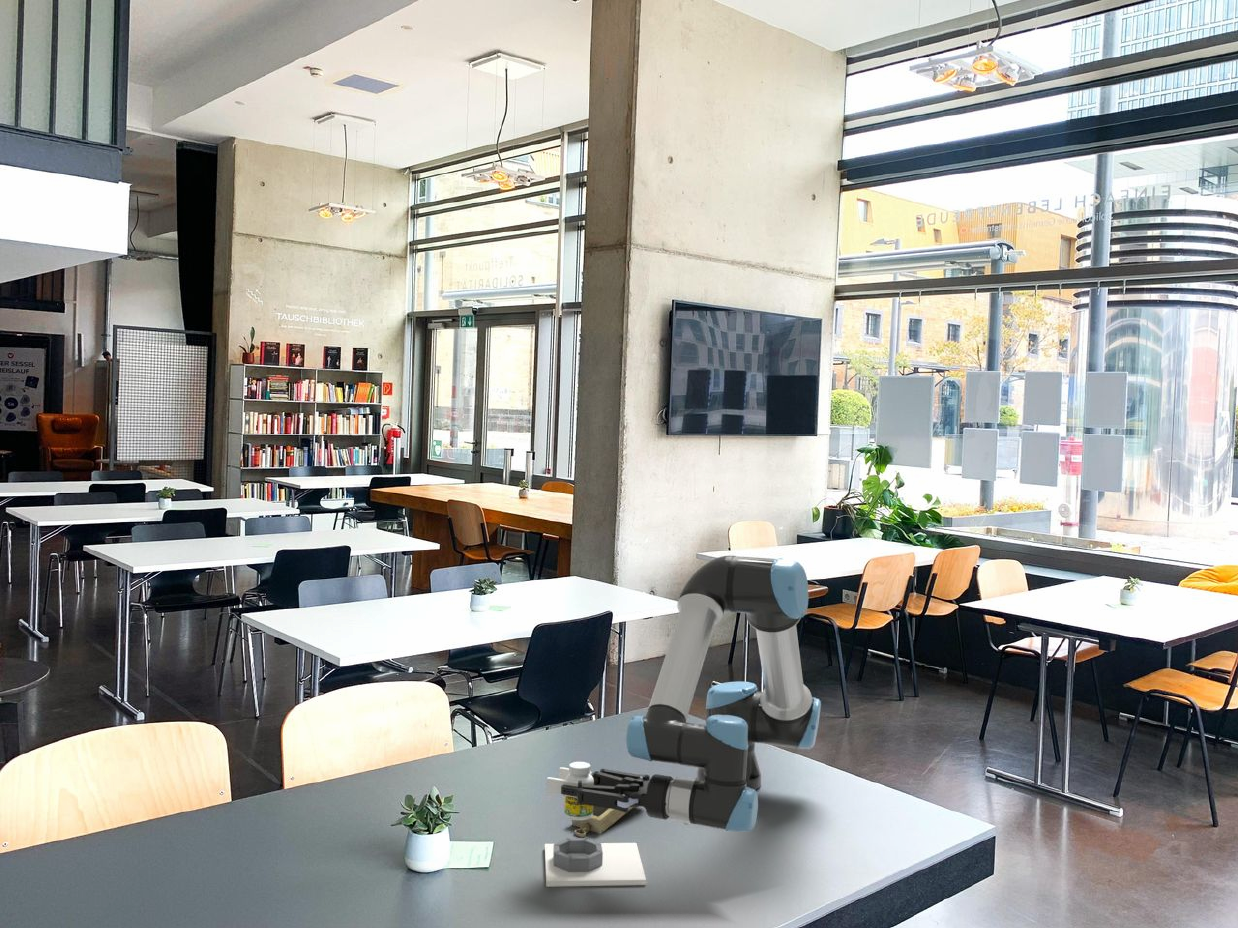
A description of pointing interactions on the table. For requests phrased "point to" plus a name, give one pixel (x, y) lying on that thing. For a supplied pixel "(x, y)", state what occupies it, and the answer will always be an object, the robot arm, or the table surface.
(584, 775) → the supplement bottle
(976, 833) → the table surface
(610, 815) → the box
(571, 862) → the plate
